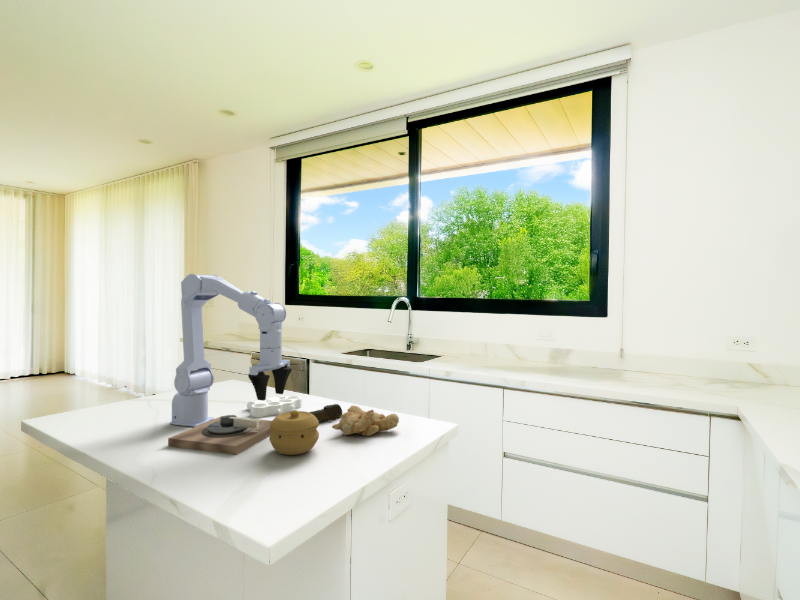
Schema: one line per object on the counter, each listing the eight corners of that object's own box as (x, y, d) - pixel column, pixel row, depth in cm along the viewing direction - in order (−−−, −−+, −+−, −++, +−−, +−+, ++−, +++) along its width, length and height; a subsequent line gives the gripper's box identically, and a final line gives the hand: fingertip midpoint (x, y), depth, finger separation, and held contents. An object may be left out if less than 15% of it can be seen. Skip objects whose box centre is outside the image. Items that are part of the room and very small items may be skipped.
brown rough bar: (287, 431, 117) (287, 415, 117) (282, 428, 120) (282, 412, 120) (346, 420, 129) (346, 405, 129) (340, 417, 132) (340, 402, 132)
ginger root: (320, 427, 116) (326, 398, 117) (361, 428, 127) (367, 402, 128) (357, 444, 105) (364, 411, 106) (399, 443, 117) (404, 414, 118)
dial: (199, 432, 108) (199, 420, 108) (225, 421, 118) (225, 410, 118) (246, 437, 105) (246, 425, 105) (268, 425, 114) (268, 414, 114)
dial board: (168, 446, 105) (168, 437, 105) (221, 422, 124) (222, 415, 124) (236, 454, 100) (236, 445, 100) (281, 428, 119) (281, 421, 119)
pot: (275, 443, 108) (275, 404, 108) (321, 442, 109) (321, 403, 108) (264, 461, 96) (264, 417, 96) (315, 460, 97) (315, 417, 97)
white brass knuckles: (284, 401, 150) (310, 409, 141) (237, 412, 137) (262, 421, 127) (284, 392, 150) (310, 399, 141) (237, 402, 137) (262, 410, 127)
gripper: (265, 351, 106) (264, 404, 107) (298, 345, 120) (298, 392, 120) (243, 349, 109) (242, 401, 109) (278, 343, 122) (278, 390, 123)
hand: (270, 396), depth 115 cm, fingers open, 7 cm apart
